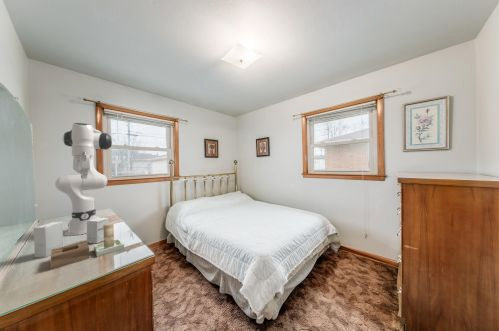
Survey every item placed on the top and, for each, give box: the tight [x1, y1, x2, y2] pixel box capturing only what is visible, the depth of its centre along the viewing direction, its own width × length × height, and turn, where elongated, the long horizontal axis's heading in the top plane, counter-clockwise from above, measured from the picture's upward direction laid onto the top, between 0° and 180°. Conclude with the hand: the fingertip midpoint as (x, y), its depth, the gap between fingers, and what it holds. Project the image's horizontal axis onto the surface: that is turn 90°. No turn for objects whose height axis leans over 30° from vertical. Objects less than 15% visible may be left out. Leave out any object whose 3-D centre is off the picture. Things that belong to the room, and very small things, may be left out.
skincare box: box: [33, 221, 64, 258], centre depth 89 cm, size 8×6×15 cm
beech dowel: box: [103, 223, 115, 249], centre depth 92 cm, size 4×4×12 cm
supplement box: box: [86, 217, 110, 244], centre depth 104 cm, size 7×7×13 cm
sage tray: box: [93, 238, 125, 258], centre depth 92 cm, size 11×11×2 cm
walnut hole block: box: [50, 240, 90, 271], centre depth 83 cm, size 12×12×5 cm
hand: (84, 178), depth 95 cm, fingers open, 8 cm apart
